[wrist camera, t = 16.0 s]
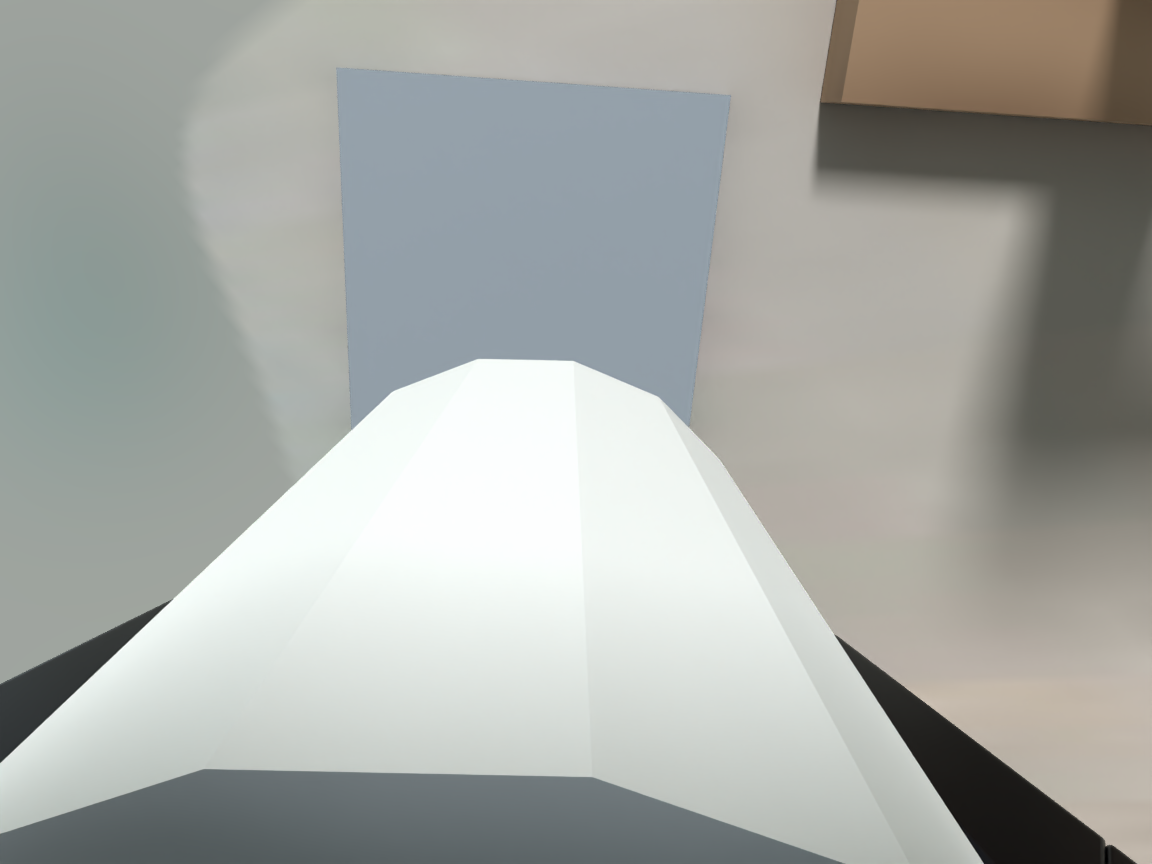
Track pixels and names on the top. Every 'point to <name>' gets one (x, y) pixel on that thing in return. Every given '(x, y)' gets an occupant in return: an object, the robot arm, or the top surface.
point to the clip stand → (995, 57)
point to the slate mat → (525, 227)
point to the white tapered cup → (485, 667)
